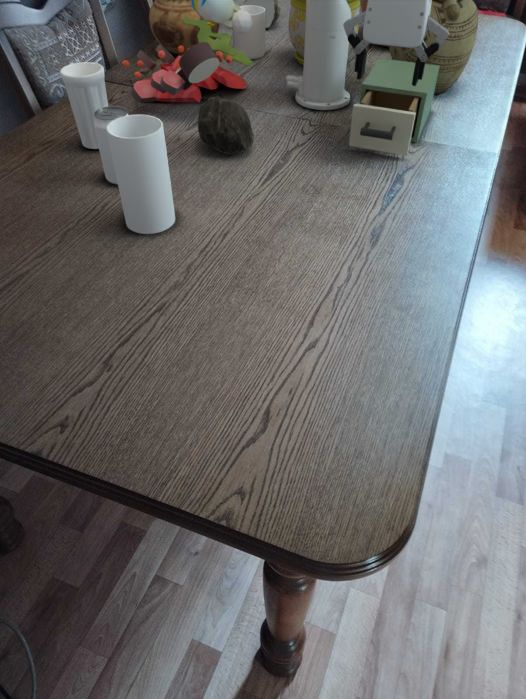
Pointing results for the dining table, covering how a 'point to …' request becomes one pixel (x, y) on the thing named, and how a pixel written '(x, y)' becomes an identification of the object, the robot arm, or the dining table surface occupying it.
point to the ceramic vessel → (447, 41)
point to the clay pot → (175, 24)
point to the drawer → (384, 122)
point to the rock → (225, 126)
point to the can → (100, 124)
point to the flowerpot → (299, 25)
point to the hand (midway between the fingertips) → (387, 79)
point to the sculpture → (267, 10)
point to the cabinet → (403, 85)
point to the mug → (252, 34)
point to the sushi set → (196, 58)
